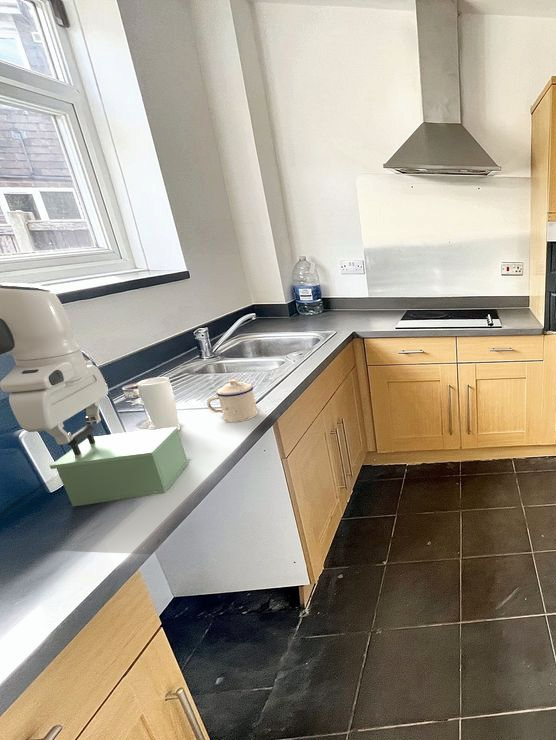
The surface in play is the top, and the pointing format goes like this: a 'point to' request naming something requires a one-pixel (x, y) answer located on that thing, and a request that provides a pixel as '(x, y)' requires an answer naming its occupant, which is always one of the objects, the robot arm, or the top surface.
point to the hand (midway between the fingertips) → (81, 432)
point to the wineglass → (136, 400)
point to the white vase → (159, 402)
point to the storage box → (125, 476)
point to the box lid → (112, 446)
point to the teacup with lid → (235, 401)
